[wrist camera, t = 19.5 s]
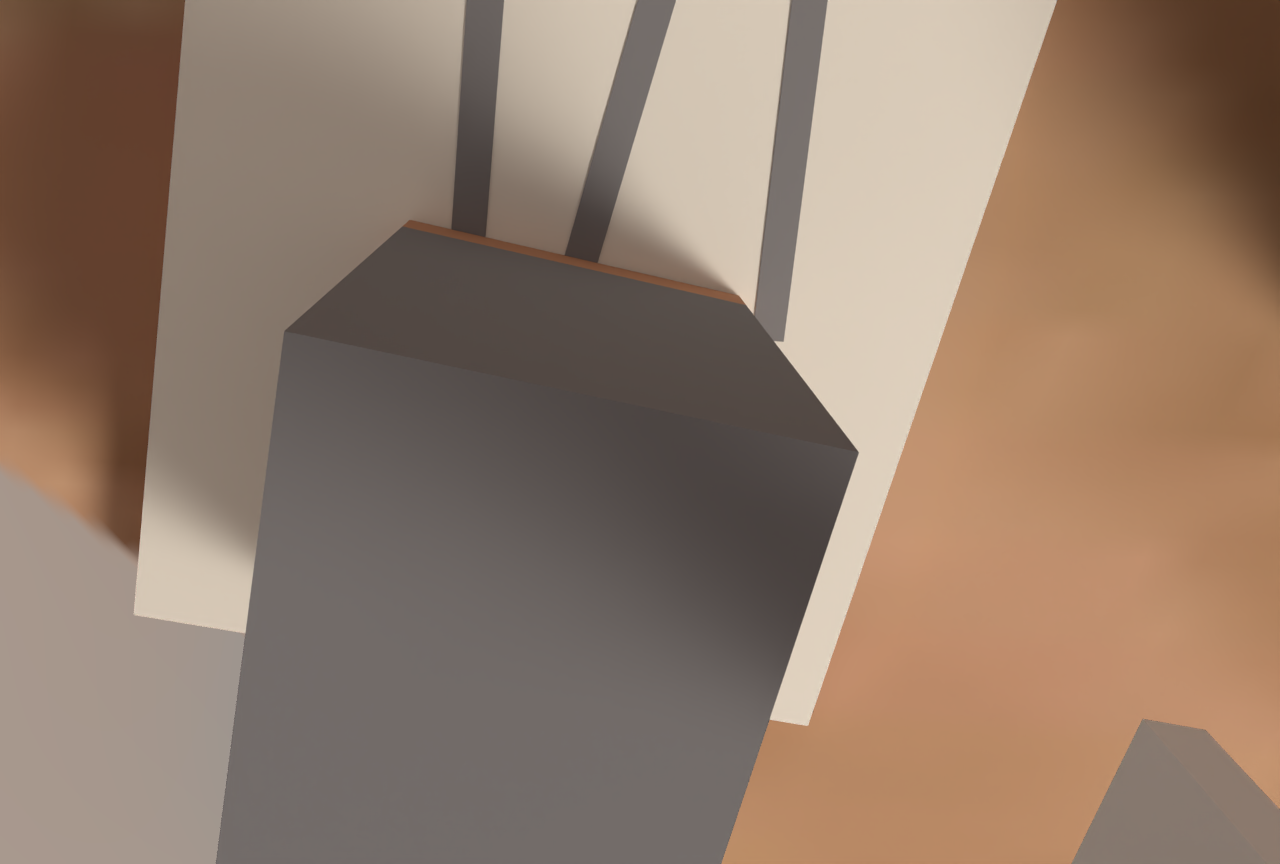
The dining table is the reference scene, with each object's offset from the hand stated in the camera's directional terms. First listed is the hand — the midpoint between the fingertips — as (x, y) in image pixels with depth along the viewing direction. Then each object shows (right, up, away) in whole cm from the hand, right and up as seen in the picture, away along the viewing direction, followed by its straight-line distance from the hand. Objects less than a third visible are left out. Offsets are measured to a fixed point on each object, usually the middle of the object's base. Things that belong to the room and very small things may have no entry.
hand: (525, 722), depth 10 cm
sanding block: (-1, +2, +9) cm, 9 cm away
